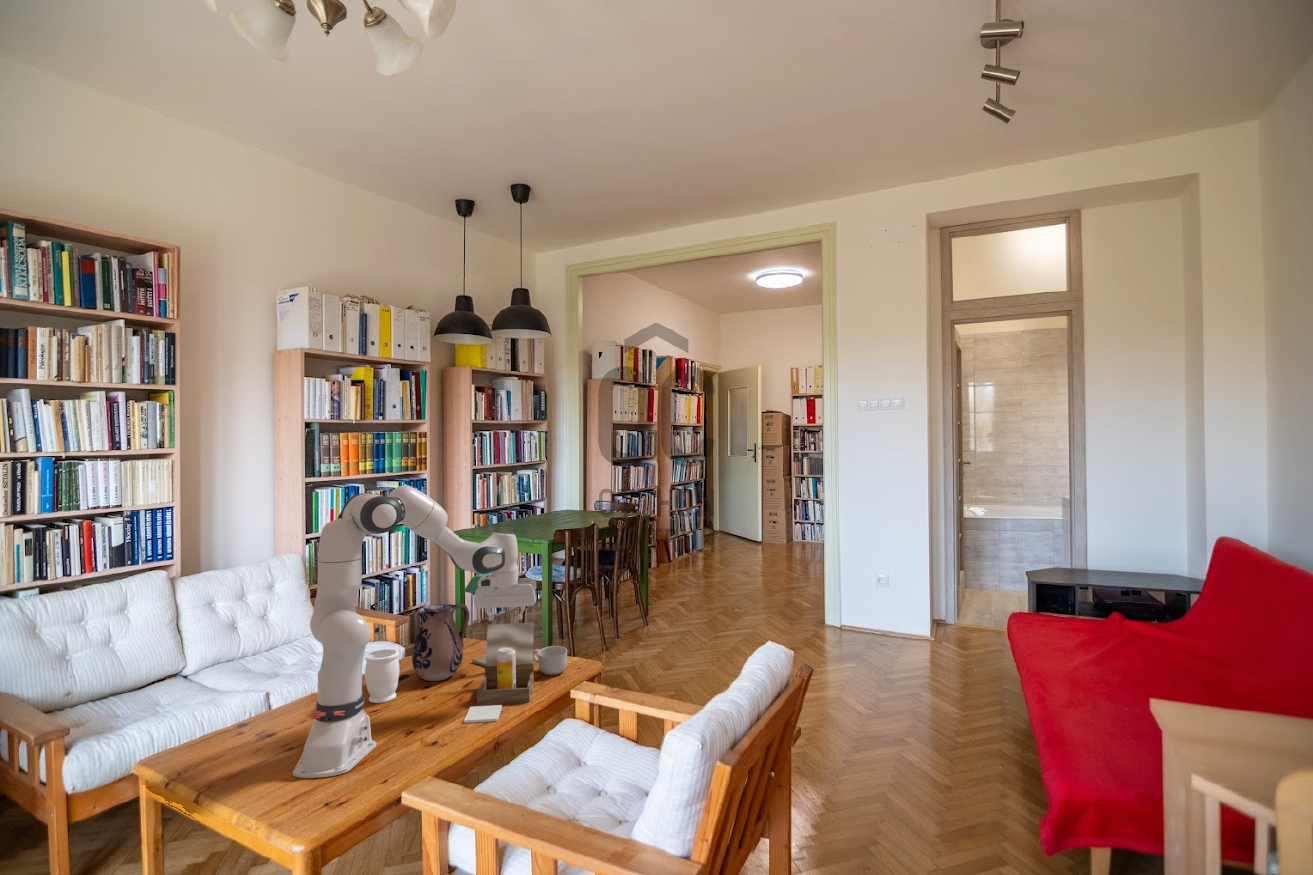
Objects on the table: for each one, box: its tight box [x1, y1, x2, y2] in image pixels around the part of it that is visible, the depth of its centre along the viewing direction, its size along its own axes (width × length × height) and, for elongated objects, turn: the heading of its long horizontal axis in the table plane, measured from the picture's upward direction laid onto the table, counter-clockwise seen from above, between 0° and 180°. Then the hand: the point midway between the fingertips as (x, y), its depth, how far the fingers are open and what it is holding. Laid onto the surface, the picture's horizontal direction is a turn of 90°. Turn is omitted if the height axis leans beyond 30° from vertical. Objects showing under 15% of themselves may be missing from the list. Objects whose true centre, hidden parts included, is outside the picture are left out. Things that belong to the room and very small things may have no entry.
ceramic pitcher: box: [411, 603, 470, 682], centre depth 231 cm, size 18×21×25 cm
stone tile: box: [463, 704, 503, 724], centre depth 196 cm, size 10×10×1 cm
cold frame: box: [476, 622, 535, 706], centre depth 215 cm, size 21×17×20 cm
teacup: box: [533, 645, 568, 676], centre depth 233 cm, size 14×11×8 cm
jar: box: [364, 648, 400, 704], centre depth 210 cm, size 11×10×15 cm
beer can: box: [496, 647, 517, 689], centre depth 212 cm, size 6×6×15 cm
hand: (505, 619), depth 213 cm, fingers open, 8 cm apart
